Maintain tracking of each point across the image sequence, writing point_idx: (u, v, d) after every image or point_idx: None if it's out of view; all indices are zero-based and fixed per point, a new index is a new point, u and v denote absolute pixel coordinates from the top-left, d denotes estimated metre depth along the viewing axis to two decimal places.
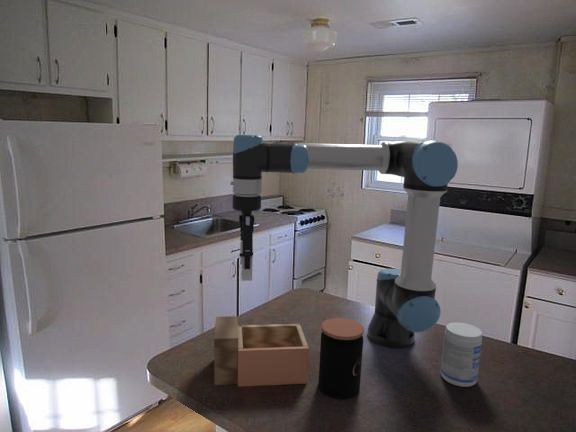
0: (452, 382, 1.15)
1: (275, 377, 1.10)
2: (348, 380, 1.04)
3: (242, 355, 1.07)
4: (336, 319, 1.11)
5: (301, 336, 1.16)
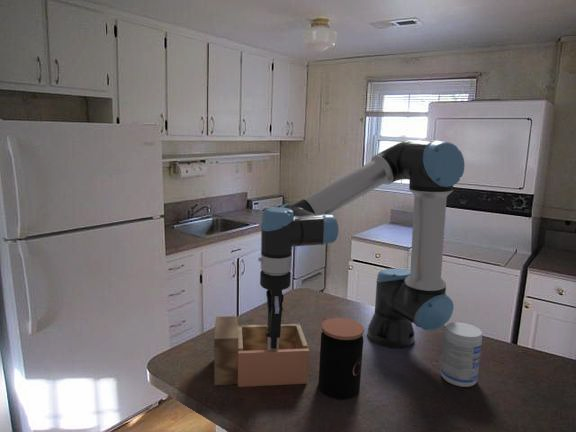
0: (452, 382, 1.15)
1: (275, 378, 1.10)
2: (348, 380, 1.04)
3: (242, 357, 1.07)
4: (336, 319, 1.11)
5: (301, 336, 1.16)
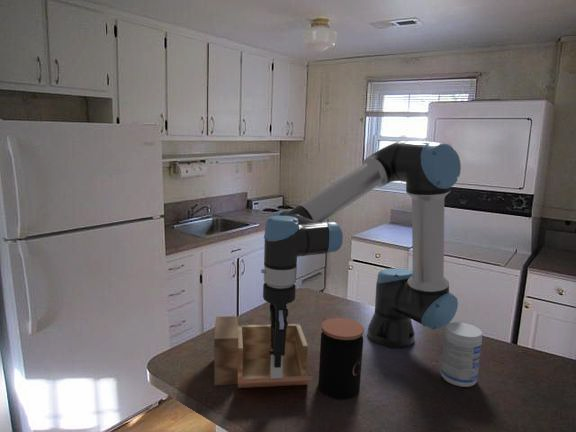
0: (452, 382, 1.15)
1: (275, 385, 1.09)
2: (348, 380, 1.04)
3: (243, 384, 1.02)
4: (336, 319, 1.11)
5: (301, 336, 1.16)
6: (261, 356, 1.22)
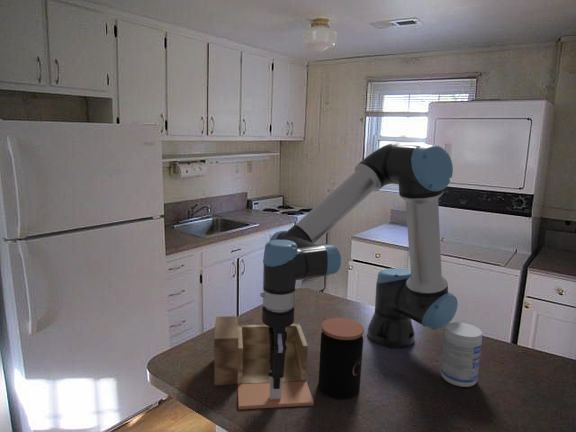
0: (452, 382, 1.15)
1: None
2: (348, 380, 1.04)
3: None
4: (336, 319, 1.11)
5: (301, 336, 1.16)
6: (261, 356, 1.22)
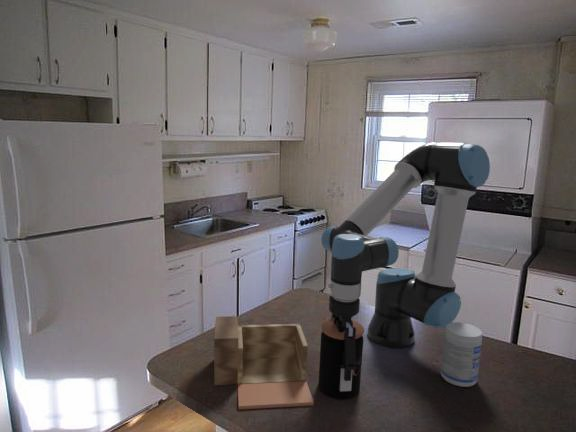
0: (452, 382, 1.15)
1: None
2: None
3: None
4: None
5: (301, 336, 1.16)
6: (261, 356, 1.22)
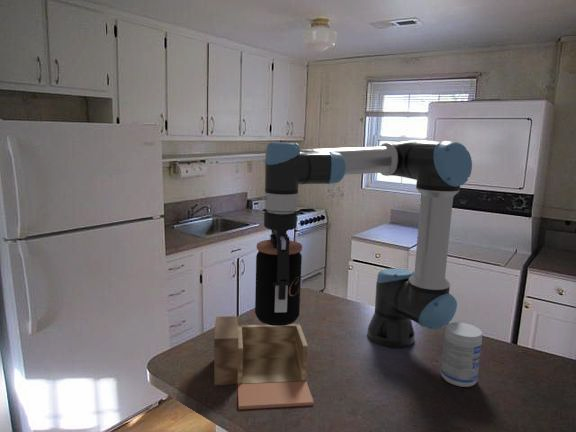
0: (452, 382, 1.15)
1: None
2: None
3: None
4: None
5: (301, 336, 1.16)
6: (261, 356, 1.22)
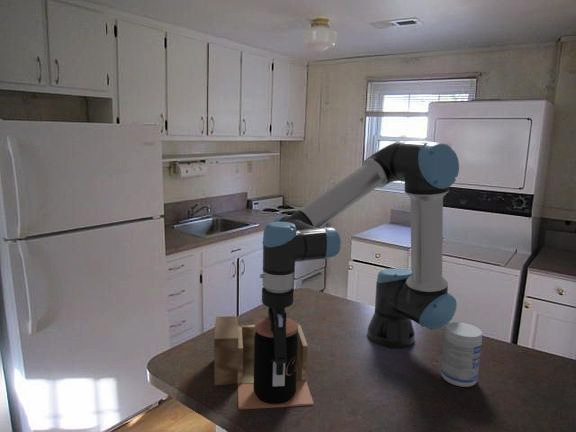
0: (452, 382, 1.15)
1: None
2: None
3: None
4: None
5: (301, 336, 1.16)
6: None
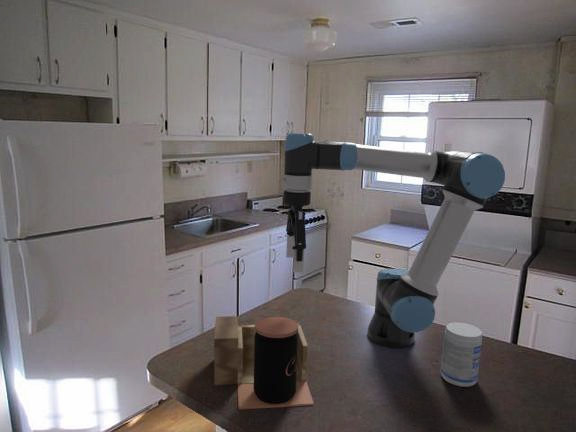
0: (452, 382, 1.15)
1: None
2: (281, 380, 1.00)
3: None
4: (272, 318, 1.08)
5: (301, 336, 1.16)
6: None
